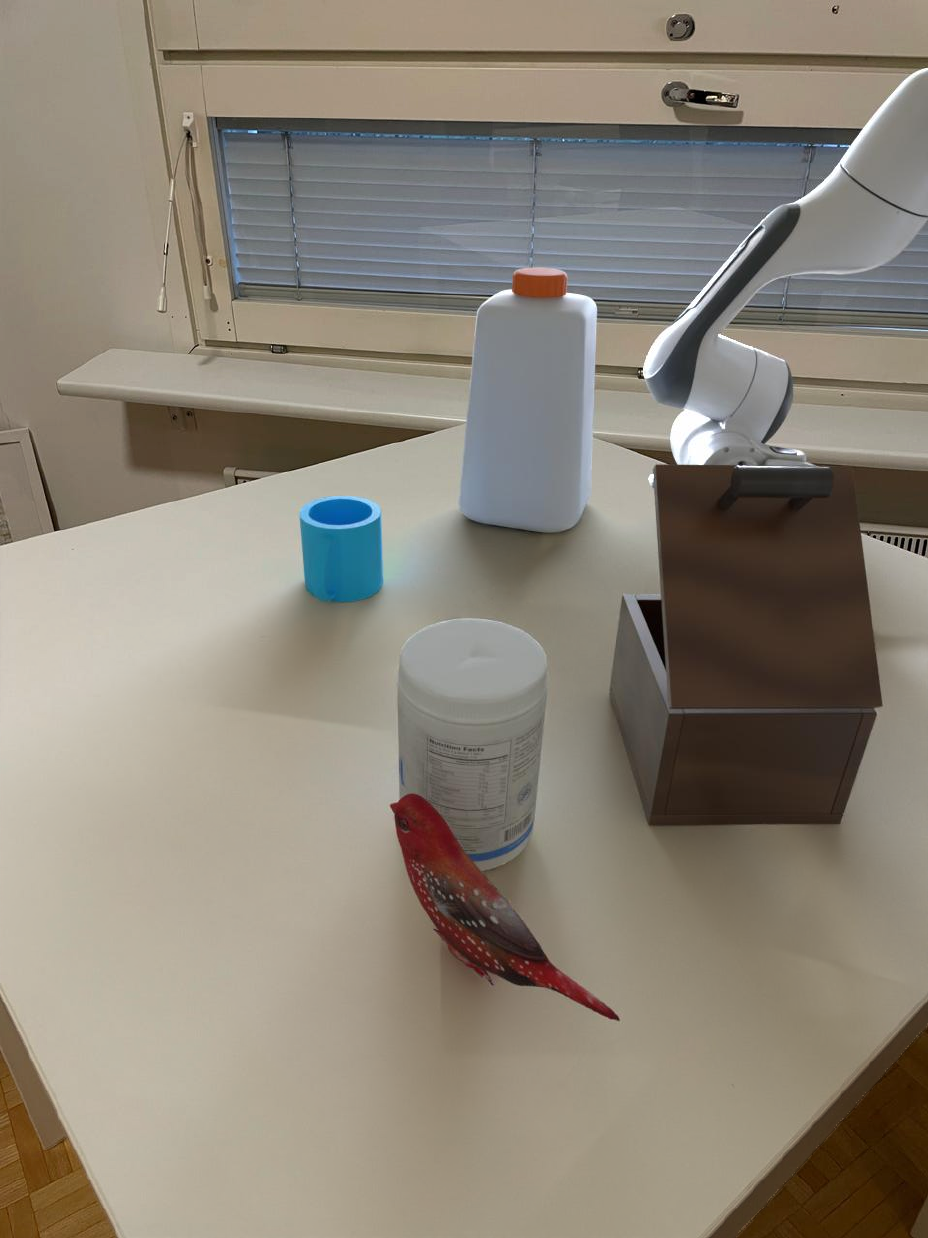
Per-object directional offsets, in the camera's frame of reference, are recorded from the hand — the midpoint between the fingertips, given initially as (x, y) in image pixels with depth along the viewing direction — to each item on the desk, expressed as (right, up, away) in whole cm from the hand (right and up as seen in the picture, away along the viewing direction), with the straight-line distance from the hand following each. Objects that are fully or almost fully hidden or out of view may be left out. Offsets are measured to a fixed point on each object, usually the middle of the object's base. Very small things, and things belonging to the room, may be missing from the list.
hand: (767, 521), depth 95 cm
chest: (-13, -21, -25) cm, 36 cm away
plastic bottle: (-25, +3, +15) cm, 30 cm away
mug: (-46, -8, -5) cm, 47 cm away
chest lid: (-13, -8, -35) cm, 38 cm away
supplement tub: (-33, -26, -33) cm, 53 cm away
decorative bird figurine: (-32, -32, -44) cm, 63 cm away
